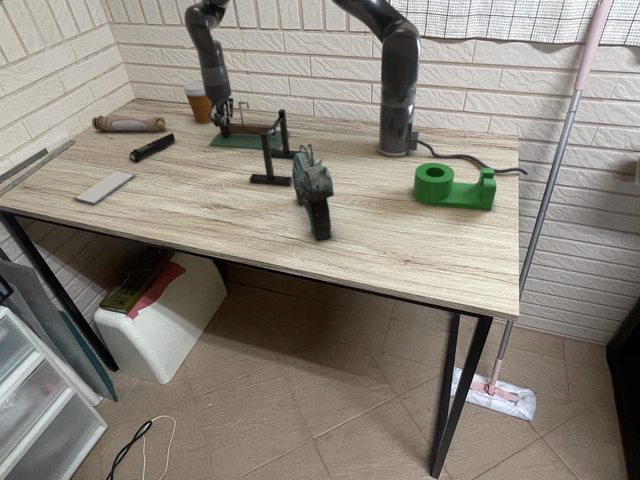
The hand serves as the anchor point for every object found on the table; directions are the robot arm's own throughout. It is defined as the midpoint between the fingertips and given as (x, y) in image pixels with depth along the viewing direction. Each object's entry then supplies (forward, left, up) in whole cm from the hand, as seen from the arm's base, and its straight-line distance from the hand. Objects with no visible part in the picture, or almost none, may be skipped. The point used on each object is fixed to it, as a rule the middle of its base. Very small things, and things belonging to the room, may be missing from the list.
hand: (227, 135), depth 134 cm
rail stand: (-23, +16, -1) cm, 28 cm away
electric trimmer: (+19, +12, -1) cm, 23 cm away
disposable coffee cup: (+13, -12, -1) cm, 18 cm away
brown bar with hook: (-8, 0, +1) cm, 8 cm away
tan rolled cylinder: (+34, 0, +2) cm, 34 cm away
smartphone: (+21, +33, -1) cm, 39 cm away
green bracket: (-69, +22, -1) cm, 72 cm away
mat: (-8, 0, -1) cm, 8 cm away
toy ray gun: (-37, +37, -1) cm, 53 cm away
